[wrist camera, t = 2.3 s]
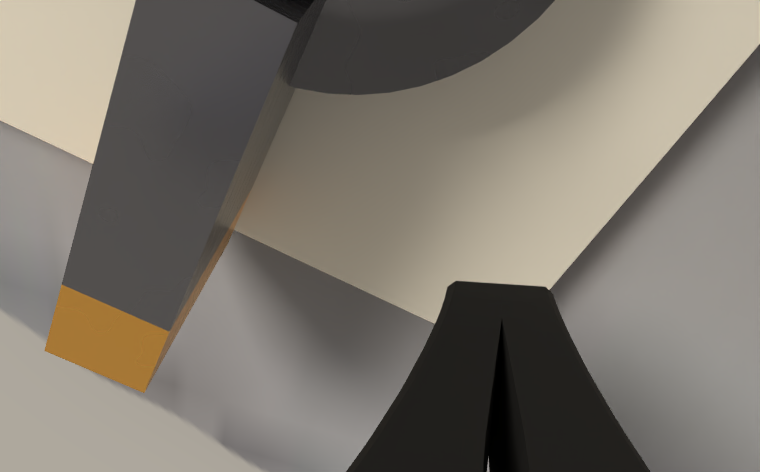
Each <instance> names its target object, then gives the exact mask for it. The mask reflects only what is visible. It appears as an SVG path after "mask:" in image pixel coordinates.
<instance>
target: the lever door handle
mask: <svg viewBox="0 0 760 472" xmlns="http://www.w3.org/2000/svg"><path fill="white" fill-rule="evenodd" d="M554 1H555V0H136V1H135V5H134V9H133V13H132V17H131V20H130V24H129V28H128V32H127V36H126V40H125V43H124V47H123V51H122V55H121V59H120V63H119V67H118V70H117V74H116V78H115V82H114V86H113V90H112V93H111V97H110V101H109V105H108V109H107V113H106V116H105V120H104V124H103V128H102V132H101V136H100V140H99V143H98V147H97V151H96V155H95V159H94V163H93V166H92V170H91V174H90V178H89V182H88V186H87V190H86V193H85V197H84V201H83V205H82V209H81V213H80V216H79V220H78V224H77V228H76V232H75V236H74V239H73V243H72V247H71V251H70V255H69V259H68V263H67V266H66V270H65V274H64V278H63V282H62V286H61V289H60V293H59V297H58V301H57V305H56V309H55V312H54V316H53V320H52V324H51V328H50V332H49V336H48V339H47V343H46V347H45V351H47V352H49V353H51V354H54V355H56V356H58V357H60V358H63V359H65V360H68V361H70V362H72V363H75V364H77V365H79V366H82V367H84V368H86V369H89V370H91V371H93V372H96V373H98V374H101V375H103V376H105V377H108V378H110V379H112V380H115V381H117V382H119V383H122V384H124V385H126V386H129V387H131V388H134V389H136V390H138V391H141V392H143V393H144V392H145V391H146V389H147V387H148V385H149V383H150V382H151V380H152V378H153V376H154V374H155V373H156V371H157V369H158V367H159V366H160V364H161V362H162V360H163V358H164V357H165V355H166V353H167V351H168V349H169V348H170V346H171V344H172V342H173V341H174V339H175V337H176V335H177V333H178V332H179V330H180V328H181V326H182V324H183V323H184V321H185V319H186V317H187V315H188V314H189V312H190V310H191V308H192V307H193V305H194V303H195V301H196V299H197V298H198V296H199V294H200V292H201V290H202V289H203V287H204V285H205V283H206V282H207V280H208V278H209V276H210V274H211V273H212V271H213V269H214V267H215V265H216V264H217V262H218V260H219V258H220V256H221V255H222V253H223V251H224V249H225V248H226V246H227V244H228V242H229V239H230V237H231V235H232V232H233V230H234V228H235V226H236V223H237V221H238V219H239V217H240V214H241V212H242V210H243V207H244V205H245V203H246V201H247V198H248V196H249V194H250V191H251V189H252V187H253V185H254V182H255V180H256V178H257V176H258V173H259V171H260V169H261V166H262V164H263V162H264V160H265V157H266V155H267V153H268V150H269V148H270V146H271V144H272V141H273V139H274V137H275V135H276V132H277V130H278V128H279V125H280V123H281V121H282V119H283V116H284V114H285V112H286V109H287V107H288V105H289V103H290V100H291V98H292V96H293V93H294V91H295V89H296V88H299V89H304V90H310V91H316V92H322V93H328V94H348V95H365V94H379V93H390V92H395V91H400V90H405V89H410V88H415V87H420V86H423V85H426V84H429V83H432V82H435V81H438V80H441V79H444V78H447V77H449V76H452V75H454V74H456V73H458V72H460V71H462V70H464V69H466V68H468V67H471V66H473V65H475V64H477V63H479V62H481V61H482V60H484V59H486V58H487V57H489V56H490V55H492V54H493V53H495V52H496V51H498V50H499V49H501V48H502V47H504V46H505V45H507V44H508V43H510V42H511V41H512V40H514V39H515V38H516V37H517V36H518V35H519V34H521V33H522V32H523V31H524V30H525V29H527V28H528V27H529V26H530V25H531V24H532V23H534V22H535V21H536V20H537V19H538V18H539V17H540V16H541V15H542V14H543V13H544V12H545V11H546V10H547V9H548V7H549V6H550V5H551V4H552V3H553V2H554Z"/></svg>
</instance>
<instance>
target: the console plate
mask: <svg viewBox="0 0 760 472" xmlns="http://www.w3.org/2000/svg"><path fill="white" fill-rule="evenodd" d="M135 1H136V0H0V121H2V122H5V123H7V124H9V125H11V126H13V127H15V128H17V129H20V130H22V131H24V132H26V133H28V134H30V135H32V136H34V137H37V138H39V139H41V140H43V141H45V142H47V143H49V144H52V145H54V146H56V147H58V148H60V149H62V150H64V151H66V152H69V153H71V154H73V155H75V156H77V157H79V158H81V159H84V160H86V161H88V162H90V163H92V164H93V163H94V159H95V155H96V151H97V147H98V143H99V140H100V136H101V132H102V128H103V124H104V120H105V116H106V113H107V109H108V105H109V101H110V97H111V93H112V90H113V86H114V82H115V78H116V74H117V70H118V67H119V63H120V59H121V55H122V51H123V47H124V43H125V40H126V36H127V32H128V28H129V24H130V20H131V17H132V13H133V9H134V5H135ZM759 44H760V0H555V1H554V2H553V3H552V4H551V5H550V6H549V7H548V9H547V10H546V11H545V12H544V13H543V14H542V15H541V16H540V17H539V18H538V19H537V20H536V21H535V22H534V23H532V24H531V25H530V26H529V27H528V28H527V29H525V30H524V31H523V32H522V33H521V34H519V35H518V36H517V37H516V38H515V39H514V40H512V41H511V42H510V43H508V44H507V45H505V46H504V47H502V48H501V49H499V50H498V51H496V52H495V53H493V54H492V55H490V56H489V57H487V58H486V59H484V60H482V61H481V62H479V63H477V64H475V65H473V66H471V67H468V68H466V69H464V70H462V71H460V72H458V73H456V74H454V75H452V76H449V77H447V78H444V79H441V80H438V81H435V82H432V83H429V84H426V85H423V86H420V87H415V88H410V89H405V90H400V91H395V92H390V93H379V94H365V95H348V94H328V93H322V92H316V91H310V90H304V89H299V88H296V89H295V91H294V93H293V96H292V98H291V100H290V103H289V105H288V107H287V109H286V112H285V114H284V116H283V119H282V121H281V123H280V125H279V128H278V130H277V132H276V135H275V137H274V139H273V141H272V144H271V146H270V148H269V150H268V153H267V155H266V157H265V160H264V162H263V164H262V166H261V169H260V171H259V173H258V176H257V178H256V180H255V182H254V185H253V187H252V189H251V191H250V194H249V196H248V198H247V201H246V203H245V205H244V207H243V210H242V212H241V214H240V217H239V219H238V221H237V223H236V226H235V228H234V230H235V231H237V232H239V233H242V234H244V235H246V236H248V237H250V238H252V239H254V240H257V241H259V242H261V243H263V244H265V245H267V246H269V247H271V248H274V249H276V250H278V251H280V252H282V253H284V254H286V255H289V256H291V257H293V258H295V259H297V260H299V261H301V262H303V263H306V264H308V265H310V266H312V267H314V268H316V269H318V270H321V271H323V272H325V273H327V274H329V275H331V276H333V277H335V278H338V279H340V280H342V281H344V282H346V283H348V284H350V285H353V286H355V287H357V288H359V289H361V290H363V291H365V292H368V293H370V294H372V295H374V296H376V297H378V298H380V299H382V300H385V301H387V302H389V303H391V304H393V305H395V306H397V307H400V308H402V309H404V310H406V311H408V312H410V313H412V314H414V315H417V316H419V317H421V318H423V319H425V320H427V321H429V322H432V323H434V324H435V323H436V321H437V318H438V316H439V313H440V310H441V308H442V305H443V302H444V299H445V295H446V290H447V287H448V286H449V285H450V284H452V283H453V282H455V281H468V282H483V283H498V284H514V285H529V286H544V287H546V288H547V289H548V290H550V289H551V287H552V286H553V285H554V284H555V283H556V282H557V280H558V279H559V278H560V277H561V276H562V275H563V273H564V272H565V271H566V270H567V269H568V268H569V266H570V265H571V264H572V263H573V262H574V261H575V259H576V258H577V257H578V256H579V255H580V254H581V252H582V251H583V250H584V249H585V248H586V247H587V245H588V244H589V243H590V242H591V241H592V239H593V238H594V237H595V236H596V235H597V234H598V232H599V231H600V230H601V229H602V228H603V227H604V225H605V224H606V223H607V222H608V221H609V220H610V218H611V217H612V216H613V215H614V214H615V213H616V211H617V210H618V209H619V208H620V207H621V206H622V204H623V203H624V202H625V201H626V200H627V199H628V197H629V196H630V195H631V194H632V193H633V192H634V190H635V189H636V188H637V187H638V186H639V185H640V183H641V182H642V181H643V180H644V179H645V177H646V176H647V175H648V174H649V173H650V172H651V170H652V169H653V168H654V167H655V166H656V165H657V163H658V162H659V161H660V160H661V159H662V158H663V156H664V155H665V154H666V153H667V152H668V151H669V149H670V148H671V147H672V146H673V145H674V144H675V142H676V141H677V140H678V139H679V138H680V137H681V135H682V134H683V133H684V132H685V131H686V130H687V128H688V127H689V126H690V125H691V124H692V123H693V121H694V120H695V119H696V118H697V117H698V115H699V114H700V113H701V112H702V111H703V110H704V108H705V107H706V106H707V105H708V104H709V103H710V101H711V100H712V99H713V98H714V97H715V96H716V94H717V93H718V92H719V91H720V90H721V89H722V87H723V86H724V85H725V84H726V83H727V82H728V80H729V79H730V78H731V77H732V76H733V75H734V73H735V72H736V71H737V70H738V69H739V68H740V66H741V65H742V64H743V63H744V62H745V61H746V59H747V58H748V57H749V56H750V55H751V53H752V52H753V51H754V50H755V49H756V48H757V46H758V45H759Z"/></svg>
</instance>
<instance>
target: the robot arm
mask: <svg viewBox="0 0 760 472" xmlns="http://www.w3.org/2000/svg"><path fill="white" fill-rule="evenodd" d="M488 456H489V469H490V472H650V470H649V469H648V467H647V466H646V464H645V463H644V461H643V460H642V458H641V457H640V455H639V454H638V452H637V451H636V449H635V448H634V446H633V445H632V443H631V442H630V440H629V439H628V437H627V436H626V434H625V432H624V431H623V429H622V428H621V426H620V424H619V423H618V421H617V420H616V418H615V416H614V415H613V413H612V411H611V410H610V408H609V406H608V405H607V403H606V401H605V399H604V398H603V396H602V394H601V392H600V391H599V389H598V387H597V386H596V384H595V382H594V380H593V379H592V377H591V375H590V373H589V372H588V370H587V368H586V366H585V364H584V362H583V360H582V358H581V356H580V354H579V353H578V351H577V349H576V347H575V345H574V343H573V341H572V339H571V337H570V334H569V332H568V330H567V328H566V326H565V324H564V321H563V319H562V317H561V315H560V312H559V310H558V307H557V305H556V302H555V299H554V296H553V294H552V293H551V292H550V291H549V290H548V289H547V288H546V287H544V286H529V285H514V284H498V283H483V282H468V281H455V282H453V283H452V284H450V285H449V286H448V287H447V290H446V295H445V299H444V302H443V305H442V308H441V310H440V313H439V316H438V318H437V321H436V323H435V325H434V328H433V330H432V332H431V334H430V336H429V338H428V340H427V343H426V345H425V347H424V349H423V351H422V352H421V354H420V356H419V358H418V360H417V362H416V363H415V365H414V367H413V369H412V371H411V373H410V375H409V376H408V378H407V380H406V382H405V384H404V385H403V387H402V389H401V391H400V392H399V394H398V396H397V397H396V399H395V400H394V402H393V403H392V405H391V407H390V408H389V410H388V411H387V413H386V414H385V416H384V417H383V419H382V421H381V422H380V424H379V425H378V427H377V428H376V430H375V432H374V433H373V435H372V436H371V438H370V439H369V441H368V442H367V443H366V445H365V446H364V448H363V449H362V451H361V452H360V453H359V455H358V456H357V458H356V459H355V460H354V462H353V463H352V464H351V466H350V467H349V469H348V470H347V471H346V472H487V464H488Z"/></svg>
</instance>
